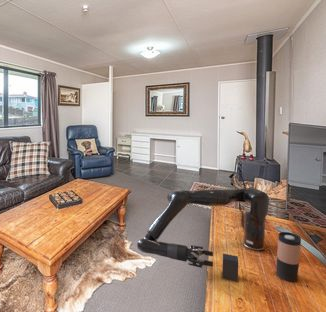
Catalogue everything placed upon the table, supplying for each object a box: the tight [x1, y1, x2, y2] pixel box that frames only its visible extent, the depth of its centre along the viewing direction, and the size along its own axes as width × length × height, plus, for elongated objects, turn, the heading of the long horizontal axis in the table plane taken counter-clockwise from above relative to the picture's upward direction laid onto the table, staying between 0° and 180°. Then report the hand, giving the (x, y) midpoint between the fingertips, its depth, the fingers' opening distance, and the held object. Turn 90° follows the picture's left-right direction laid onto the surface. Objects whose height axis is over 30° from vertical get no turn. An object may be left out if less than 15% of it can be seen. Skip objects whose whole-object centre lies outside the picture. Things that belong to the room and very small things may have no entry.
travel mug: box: [276, 231, 302, 283], centre depth 103 cm, size 8×8×20 cm
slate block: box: [221, 253, 239, 282], centre depth 106 cm, size 4×6×10 cm
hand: (213, 259), depth 109 cm, fingers open, 8 cm apart
